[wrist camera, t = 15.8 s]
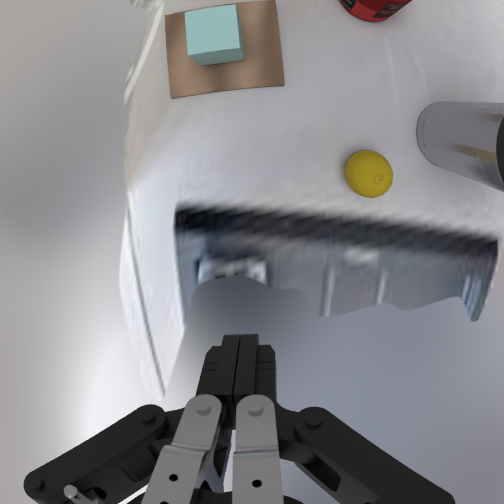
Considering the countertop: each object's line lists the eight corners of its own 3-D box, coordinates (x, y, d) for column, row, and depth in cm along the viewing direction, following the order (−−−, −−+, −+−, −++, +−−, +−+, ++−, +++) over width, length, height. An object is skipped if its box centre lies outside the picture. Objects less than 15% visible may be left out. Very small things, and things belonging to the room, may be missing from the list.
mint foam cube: (241, 22, 30) (235, 4, 24) (244, 60, 32) (239, 47, 26) (198, 28, 30) (184, 12, 24) (201, 65, 32) (187, 55, 26)
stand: (274, 2, 30) (275, -23, 22) (284, 85, 34) (287, 76, 27) (166, 17, 31) (145, -2, 24) (172, 98, 35) (151, 94, 28)
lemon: (337, 148, 37) (353, 155, 30) (377, 146, 37) (401, 153, 29) (340, 190, 39) (356, 207, 32) (379, 187, 39) (402, 203, 31)
